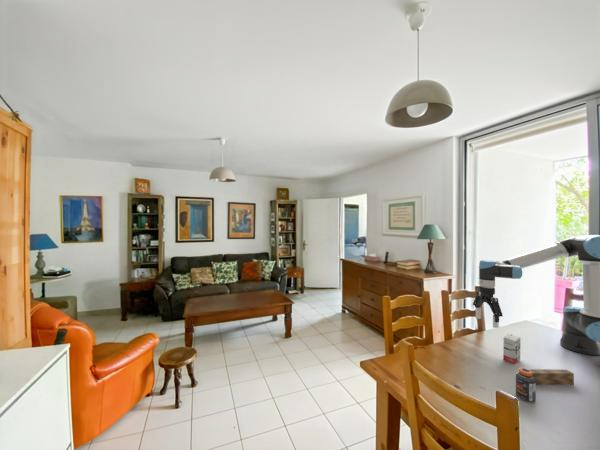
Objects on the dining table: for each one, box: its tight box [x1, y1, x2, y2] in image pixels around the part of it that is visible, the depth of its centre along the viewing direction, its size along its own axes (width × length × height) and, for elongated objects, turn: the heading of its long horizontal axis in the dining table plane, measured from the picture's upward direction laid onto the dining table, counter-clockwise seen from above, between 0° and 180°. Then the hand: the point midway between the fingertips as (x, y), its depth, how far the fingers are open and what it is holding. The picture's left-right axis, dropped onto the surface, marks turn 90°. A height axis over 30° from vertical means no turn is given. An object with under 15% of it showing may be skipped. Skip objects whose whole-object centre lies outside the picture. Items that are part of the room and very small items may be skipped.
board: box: [527, 368, 575, 386], centre depth 109 cm, size 19×3×5 cm, turn 89°
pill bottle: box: [515, 367, 537, 404], centre depth 99 cm, size 6×6×11 cm
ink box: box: [502, 333, 521, 365], centre depth 128 cm, size 8×5×12 cm, turn 123°
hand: (486, 322), depth 145 cm, fingers open, 13 cm apart
